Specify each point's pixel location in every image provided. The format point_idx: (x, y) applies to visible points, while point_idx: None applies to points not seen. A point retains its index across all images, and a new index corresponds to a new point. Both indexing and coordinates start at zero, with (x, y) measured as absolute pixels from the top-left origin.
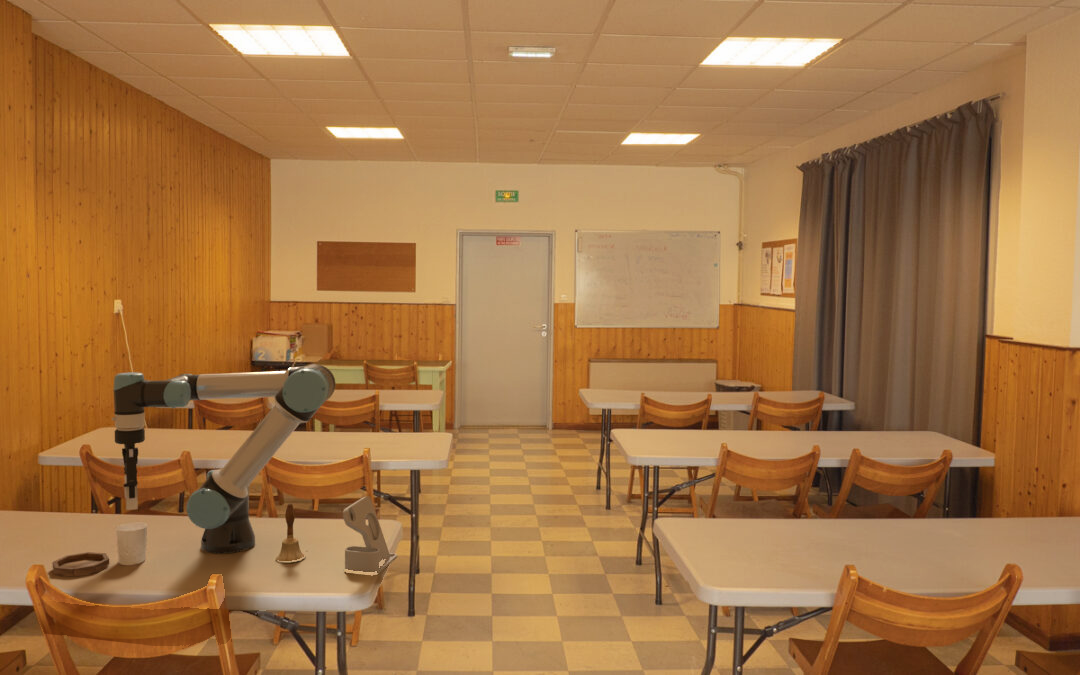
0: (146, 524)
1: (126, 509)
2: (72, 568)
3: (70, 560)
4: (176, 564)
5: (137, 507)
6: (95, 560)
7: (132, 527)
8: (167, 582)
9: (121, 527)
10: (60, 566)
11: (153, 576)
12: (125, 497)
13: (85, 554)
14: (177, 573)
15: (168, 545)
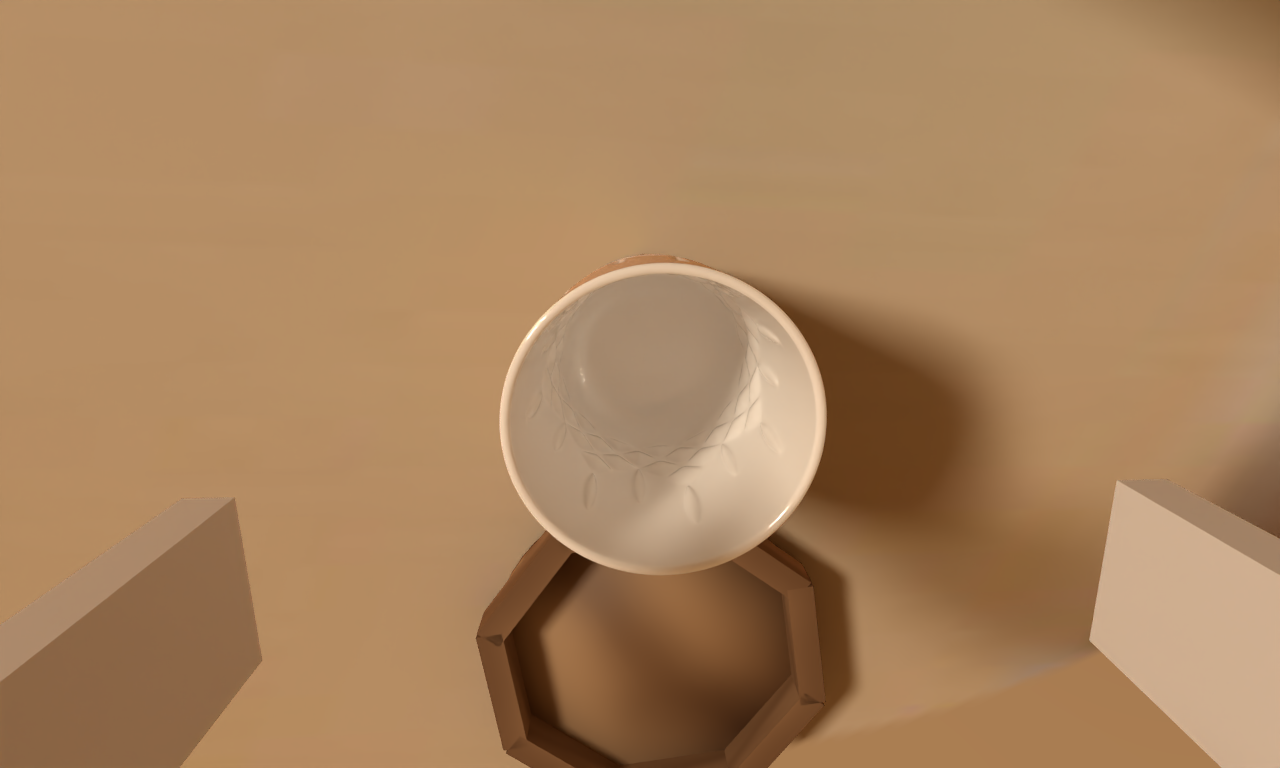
0: (644, 270)
1: (1102, 642)
2: (806, 708)
3: (528, 709)
4: (876, 27)
5: (1184, 492)
6: (574, 573)
7: (520, 403)
8: (1249, 125)
9: (559, 513)
10: (612, 749)
11: (1064, 214)
12: (253, 658)
13: (507, 647)
14: (1096, 37)
15: (329, 53)
